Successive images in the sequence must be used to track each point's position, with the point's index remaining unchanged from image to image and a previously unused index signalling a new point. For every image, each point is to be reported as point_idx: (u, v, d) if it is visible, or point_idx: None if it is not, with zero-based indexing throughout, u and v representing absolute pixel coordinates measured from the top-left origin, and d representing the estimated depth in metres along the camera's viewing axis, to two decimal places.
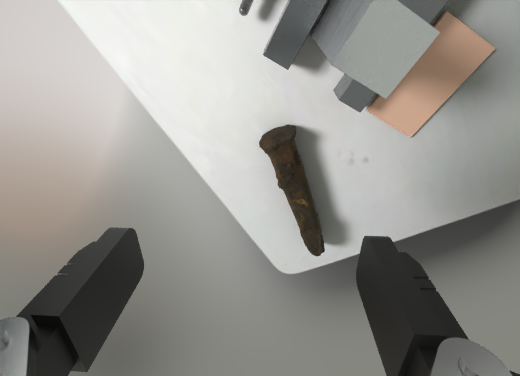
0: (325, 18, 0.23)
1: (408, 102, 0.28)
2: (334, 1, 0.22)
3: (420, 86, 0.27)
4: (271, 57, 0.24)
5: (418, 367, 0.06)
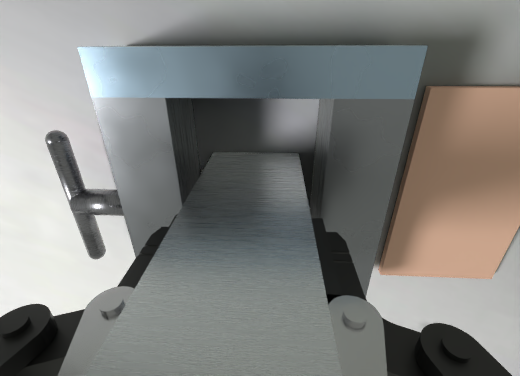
0: None
1: (449, 238, 0.14)
2: None
3: (457, 209, 0.13)
4: None
5: None
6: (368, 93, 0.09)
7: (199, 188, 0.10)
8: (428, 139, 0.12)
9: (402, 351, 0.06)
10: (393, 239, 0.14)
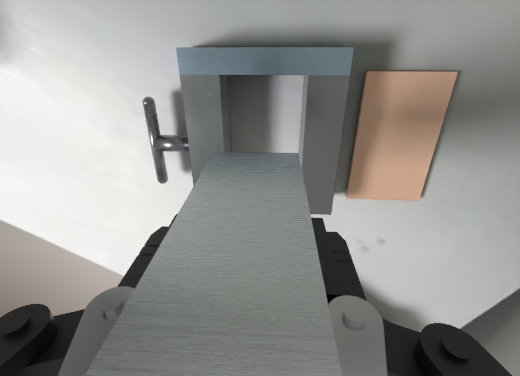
0: None
1: (388, 170, 0.22)
2: None
3: (391, 149, 0.21)
4: None
5: None
6: (326, 72, 0.17)
7: (199, 188, 0.10)
8: (368, 103, 0.20)
9: (402, 351, 0.06)
10: (352, 171, 0.22)
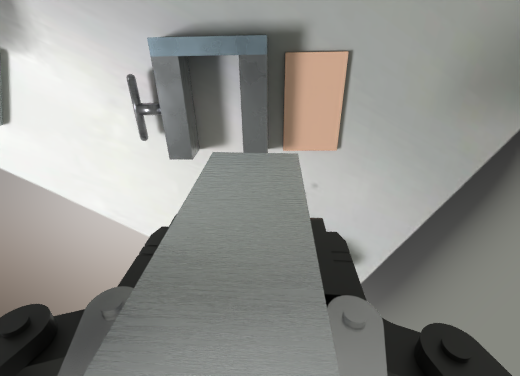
0: None
1: (311, 126, 0.30)
2: None
3: (310, 110, 0.29)
4: (176, 157, 0.30)
5: None
6: (250, 52, 0.24)
7: (198, 188, 0.10)
8: (289, 75, 0.28)
9: (402, 351, 0.06)
10: (285, 129, 0.30)
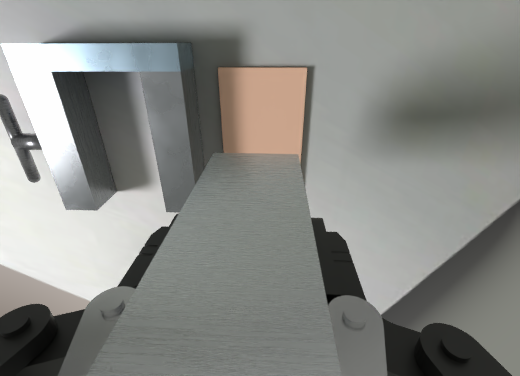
0: None
1: None
2: None
3: (259, 146, 0.21)
4: (73, 208, 0.21)
5: None
6: (155, 68, 0.16)
7: (199, 189, 0.10)
8: (226, 99, 0.20)
9: (402, 351, 0.06)
10: None
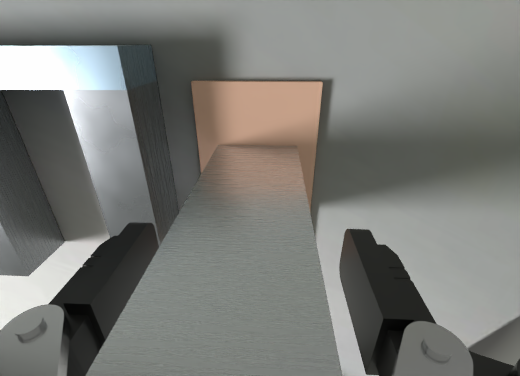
0: None
1: None
2: None
3: None
4: None
5: (388, 350, 0.06)
6: (88, 85, 0.10)
7: (206, 175, 0.11)
8: (205, 126, 0.14)
9: None
10: None
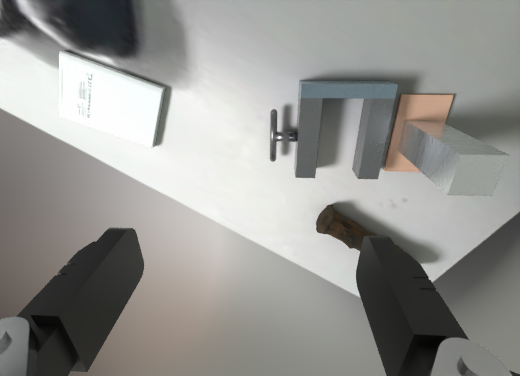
0: (407, 143, 0.34)
1: None
2: (408, 131, 0.33)
3: None
4: (301, 176, 0.36)
5: (418, 367, 0.06)
6: (382, 96, 0.31)
7: (420, 128, 0.31)
8: (401, 112, 0.34)
9: None
10: (389, 153, 0.37)
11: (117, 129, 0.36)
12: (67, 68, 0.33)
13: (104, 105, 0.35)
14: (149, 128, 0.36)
